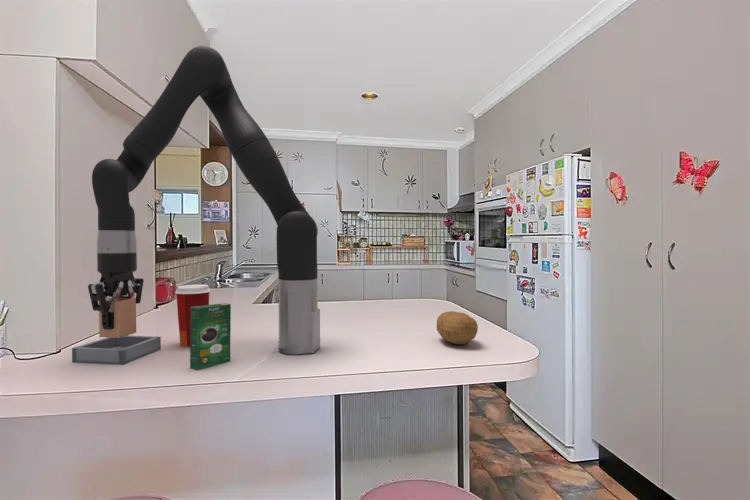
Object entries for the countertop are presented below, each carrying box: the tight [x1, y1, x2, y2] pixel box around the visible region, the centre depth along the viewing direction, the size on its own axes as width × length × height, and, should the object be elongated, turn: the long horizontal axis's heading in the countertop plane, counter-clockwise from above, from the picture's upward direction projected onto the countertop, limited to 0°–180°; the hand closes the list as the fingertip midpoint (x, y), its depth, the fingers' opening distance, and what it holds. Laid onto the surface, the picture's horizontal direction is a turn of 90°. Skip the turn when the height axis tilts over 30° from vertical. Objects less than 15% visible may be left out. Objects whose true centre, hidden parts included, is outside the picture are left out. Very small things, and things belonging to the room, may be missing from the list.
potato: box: [436, 310, 479, 345], centre depth 106 cm, size 10×14×8 cm
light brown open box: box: [98, 297, 137, 338], centre depth 92 cm, size 5×5×8 cm
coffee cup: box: [174, 284, 212, 348], centre depth 103 cm, size 8×8×15 cm
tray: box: [71, 335, 162, 366], centre depth 93 cm, size 12×12×4 cm
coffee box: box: [189, 302, 232, 371], centre depth 86 cm, size 8×3×13 cm, turn 144°
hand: (118, 326), depth 92 cm, fingers closed on light brown open box, 5 cm apart
